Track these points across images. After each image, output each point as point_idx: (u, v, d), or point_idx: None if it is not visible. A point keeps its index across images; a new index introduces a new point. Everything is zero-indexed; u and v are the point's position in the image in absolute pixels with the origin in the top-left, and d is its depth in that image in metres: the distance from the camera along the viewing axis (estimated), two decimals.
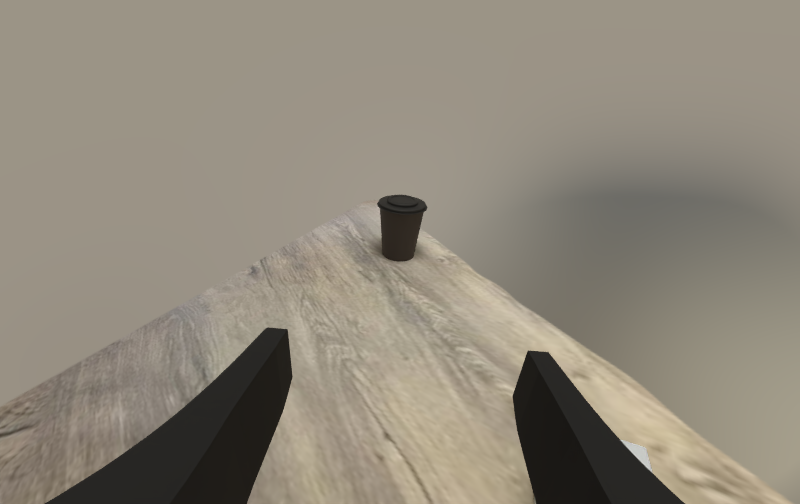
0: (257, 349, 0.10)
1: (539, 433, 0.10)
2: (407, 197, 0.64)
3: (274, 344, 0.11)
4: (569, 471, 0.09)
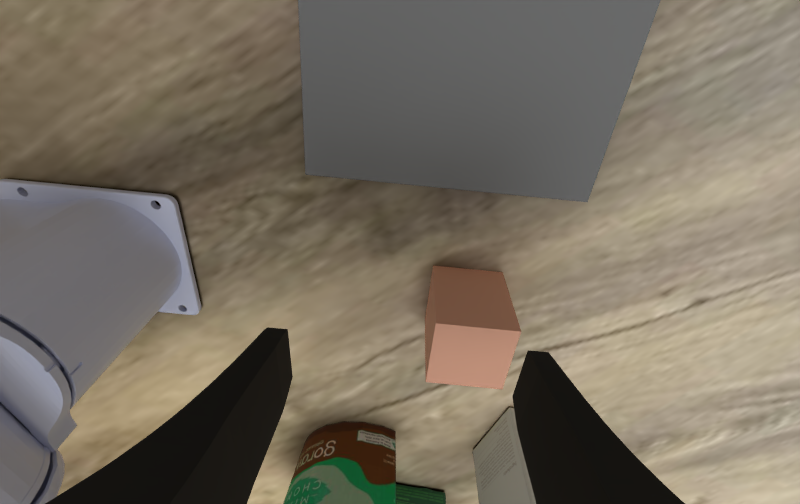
0: (257, 349, 0.10)
1: (539, 434, 0.10)
2: None
3: (274, 344, 0.11)
4: (569, 471, 0.09)
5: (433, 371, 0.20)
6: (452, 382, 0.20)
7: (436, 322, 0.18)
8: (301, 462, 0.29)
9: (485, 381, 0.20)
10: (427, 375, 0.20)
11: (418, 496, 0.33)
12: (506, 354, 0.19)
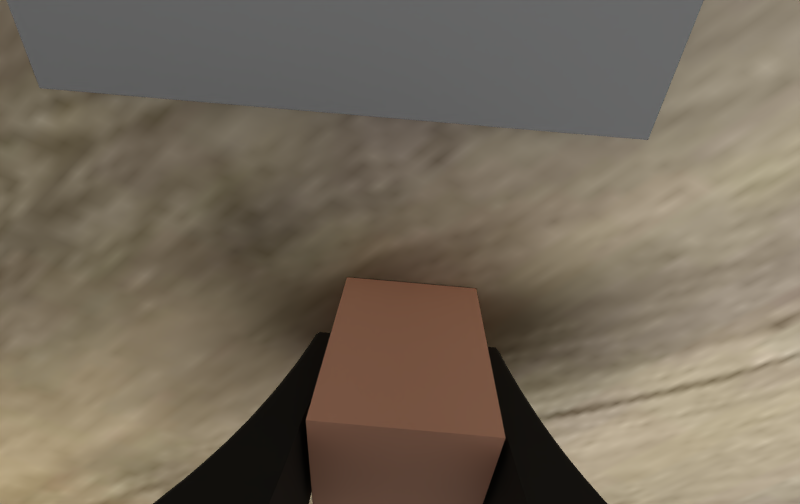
0: (315, 354, 0.10)
1: None
2: None
3: None
4: (499, 465, 0.09)
5: None
6: None
7: (308, 416, 0.08)
8: None
9: None
10: None
11: None
12: (475, 478, 0.09)
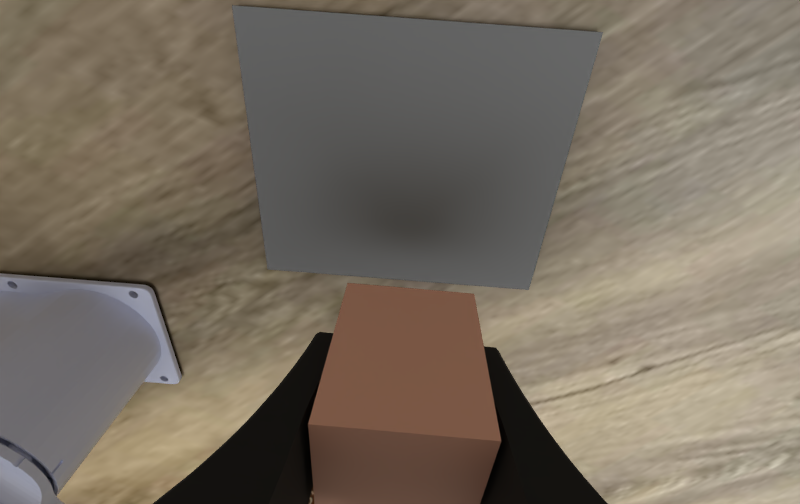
0: (315, 354, 0.10)
1: None
2: None
3: None
4: (499, 465, 0.09)
5: None
6: None
7: (311, 420, 0.08)
8: None
9: None
10: None
11: None
12: (472, 480, 0.09)
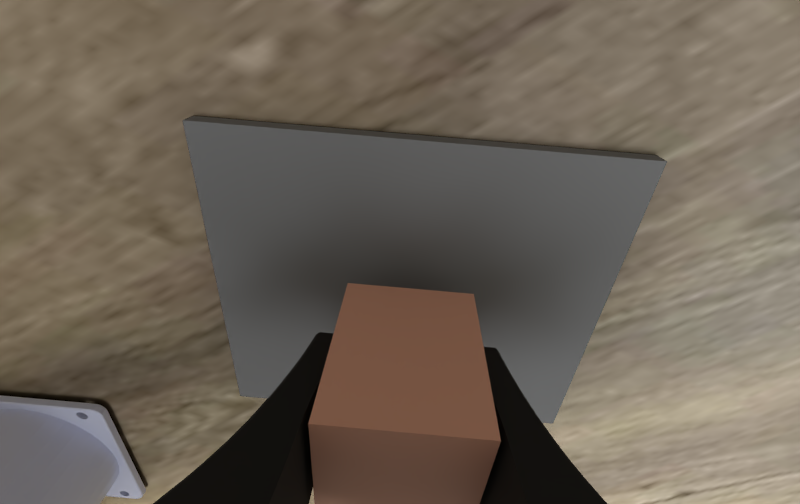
0: (315, 354, 0.10)
1: None
2: None
3: None
4: (499, 465, 0.09)
5: None
6: None
7: (311, 420, 0.08)
8: None
9: None
10: None
11: None
12: (471, 480, 0.09)
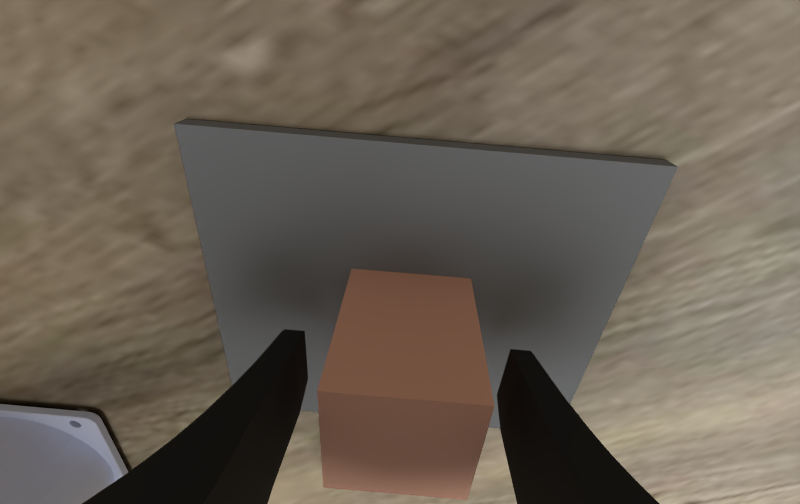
0: (276, 351, 0.10)
1: (520, 432, 0.10)
2: None
3: (293, 346, 0.11)
4: (546, 469, 0.09)
5: (332, 471, 0.10)
6: (372, 488, 0.11)
7: (319, 388, 0.09)
8: None
9: (434, 487, 0.11)
10: (324, 477, 0.11)
11: None
12: (468, 445, 0.10)
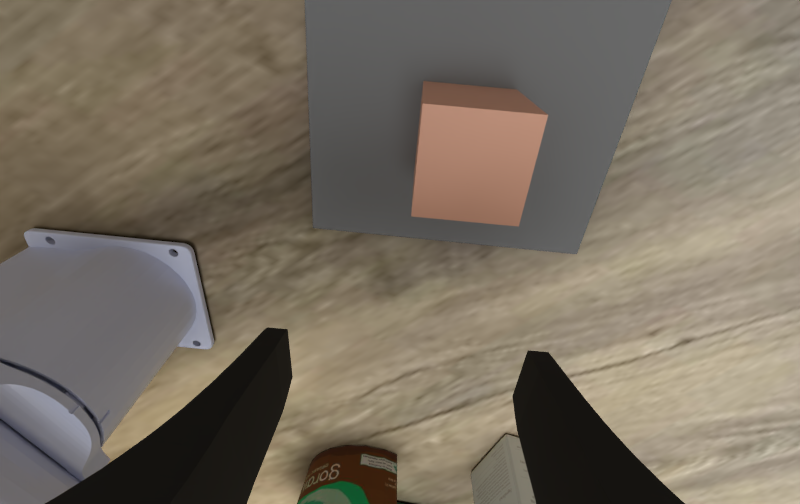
0: (257, 349, 0.10)
1: (540, 434, 0.10)
2: None
3: (274, 344, 0.11)
4: (569, 471, 0.09)
5: (420, 197, 0.14)
6: (448, 216, 0.14)
7: (423, 104, 0.13)
8: (307, 484, 0.31)
9: (495, 213, 0.14)
10: (413, 205, 0.14)
11: None
12: (525, 160, 0.13)
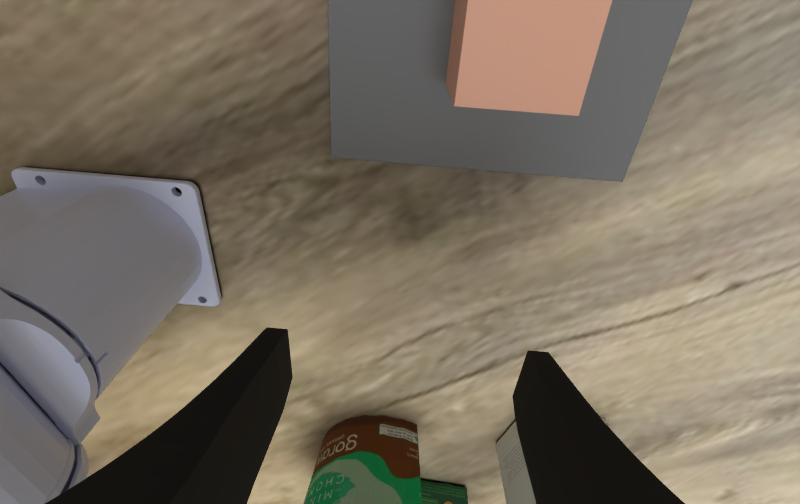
0: (257, 349, 0.10)
1: (539, 434, 0.10)
2: None
3: (274, 344, 0.11)
4: (569, 471, 0.09)
5: (466, 80, 0.12)
6: (497, 104, 0.12)
7: None
8: (322, 457, 0.29)
9: (552, 99, 0.12)
10: (457, 91, 0.12)
11: (439, 491, 0.33)
12: (592, 26, 0.11)
